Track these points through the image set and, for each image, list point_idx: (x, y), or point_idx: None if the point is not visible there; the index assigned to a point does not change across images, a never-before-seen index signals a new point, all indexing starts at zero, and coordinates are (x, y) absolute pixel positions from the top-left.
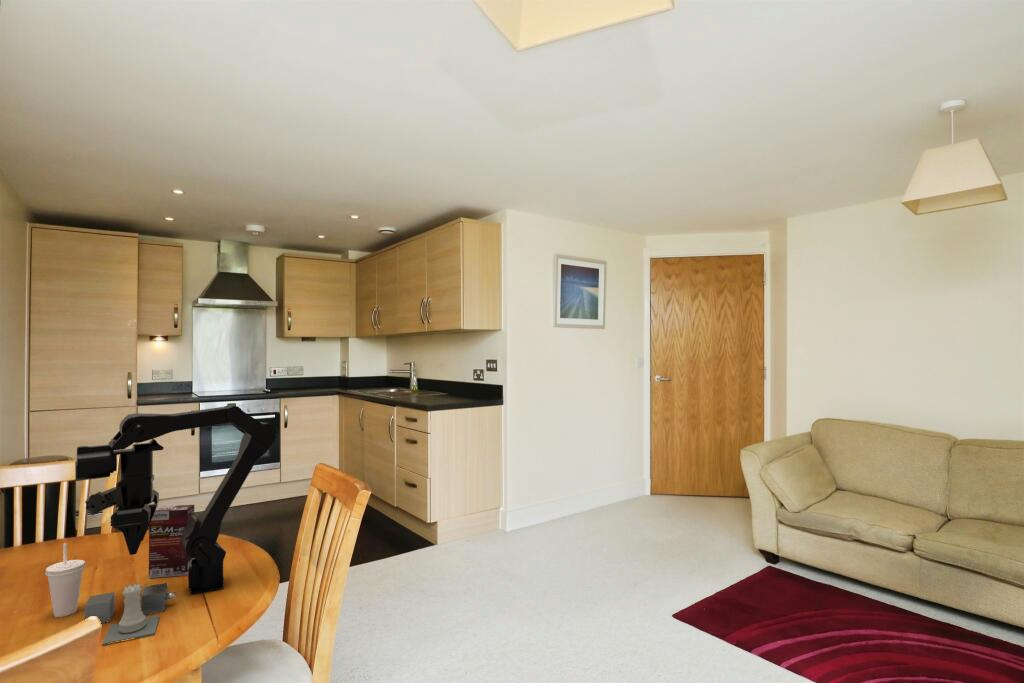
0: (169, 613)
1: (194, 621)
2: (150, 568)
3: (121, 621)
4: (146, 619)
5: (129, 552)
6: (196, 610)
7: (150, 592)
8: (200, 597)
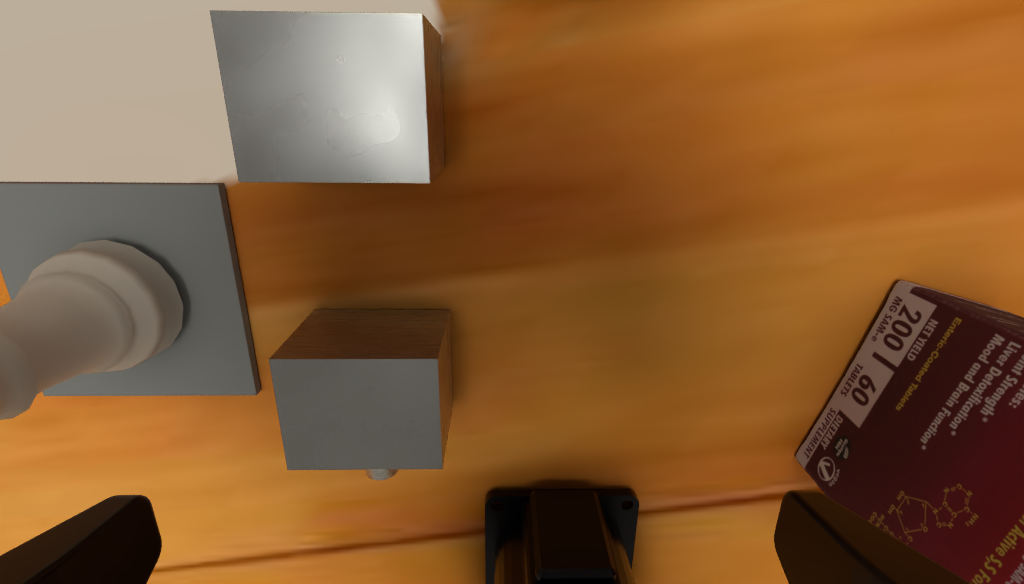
0: None
1: (156, 517)
2: (941, 312)
3: (43, 271)
4: (221, 345)
5: (70, 521)
6: (279, 518)
7: (308, 401)
8: (433, 524)
